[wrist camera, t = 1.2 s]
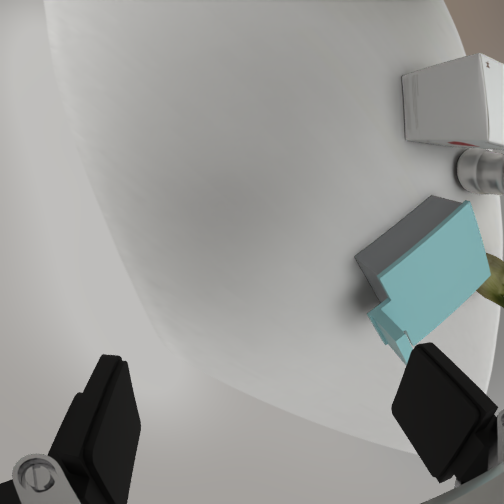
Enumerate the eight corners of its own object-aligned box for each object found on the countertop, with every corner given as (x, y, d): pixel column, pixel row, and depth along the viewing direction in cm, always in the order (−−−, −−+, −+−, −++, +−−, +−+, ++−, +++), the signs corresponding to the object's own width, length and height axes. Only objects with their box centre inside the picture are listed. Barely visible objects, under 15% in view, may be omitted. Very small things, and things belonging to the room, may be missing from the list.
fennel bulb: (468, 289, 42) (516, 320, 31) (458, 270, 41) (510, 301, 30) (487, 264, 42) (537, 290, 30) (479, 244, 40) (532, 268, 29)
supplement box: (403, 141, 35) (487, 142, 20) (399, 75, 32) (478, 49, 18) (453, 148, 36) (535, 155, 21) (450, 88, 33) (528, 75, 19)
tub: (431, 195, 37) (464, 203, 30) (455, 257, 40) (485, 272, 34) (354, 256, 38) (379, 276, 32) (387, 315, 41) (411, 340, 35)
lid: (461, 199, 31) (502, 210, 24) (483, 271, 34) (518, 290, 28) (351, 290, 33) (380, 321, 26) (388, 354, 36) (415, 387, 29)
